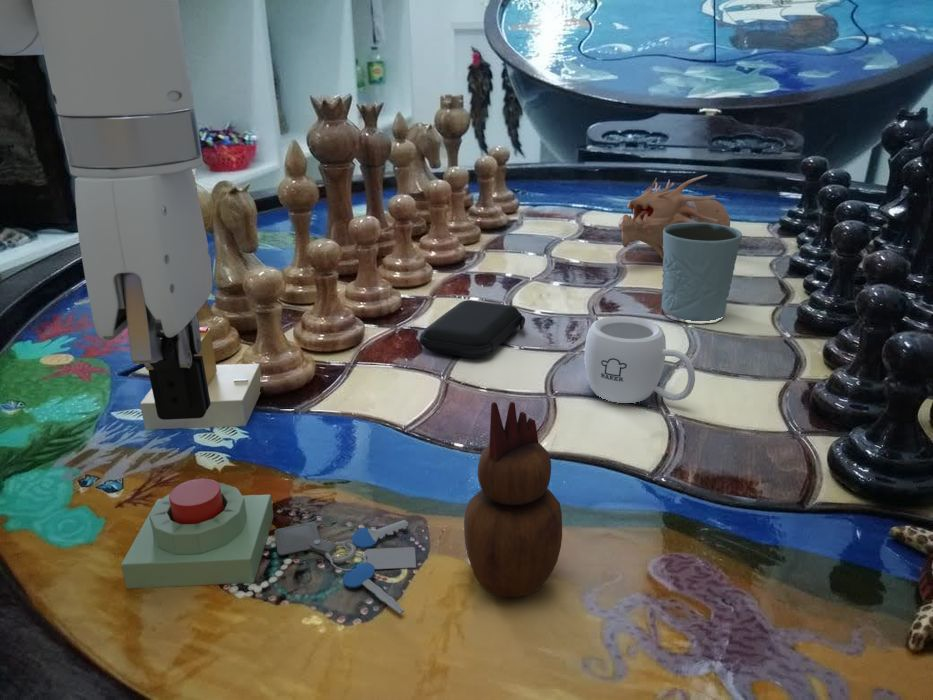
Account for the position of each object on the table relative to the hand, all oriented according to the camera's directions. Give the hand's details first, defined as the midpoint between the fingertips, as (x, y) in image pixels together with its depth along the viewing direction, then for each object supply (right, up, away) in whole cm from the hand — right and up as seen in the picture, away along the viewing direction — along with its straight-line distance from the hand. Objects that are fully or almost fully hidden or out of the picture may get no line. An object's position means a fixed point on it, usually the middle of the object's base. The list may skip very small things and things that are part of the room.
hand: (185, 413), depth 51 cm
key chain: (+12, -11, +5) cm, 17 cm away
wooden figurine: (+23, -12, +2) cm, 26 cm away
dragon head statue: (+56, +20, +76) cm, 97 cm away
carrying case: (+21, +6, +44) cm, 49 cm away
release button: (0, -8, +3) cm, 8 cm away
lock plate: (-8, -2, +26) cm, 28 cm away
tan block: (-8, +1, +25) cm, 26 cm away
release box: (0, -11, +5) cm, 12 cm away
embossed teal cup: (+52, +9, +52) cm, 74 cm away
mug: (+38, -1, +28) cm, 48 cm away
